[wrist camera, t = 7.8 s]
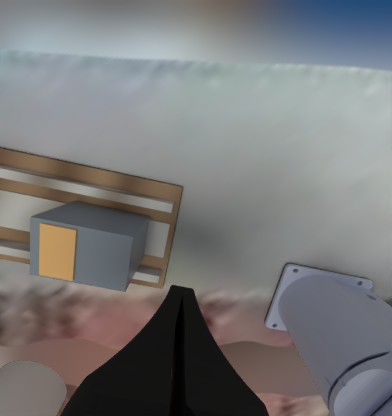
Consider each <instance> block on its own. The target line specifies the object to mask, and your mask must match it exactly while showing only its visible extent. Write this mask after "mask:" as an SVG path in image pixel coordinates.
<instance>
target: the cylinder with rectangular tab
mask: <svg viewBox="0 0 392 416" xmlns="http://www.w3.org/2000/svg"><path fill="white" fill-rule="evenodd" d="M66 393H67V389H66V386H65V382H64V381H63V379H62V378H61V376H60V375H58V374H57V373H56V372H55V371H54V370H53V369H51V368H49V367H48V366H46V365H43V364H40V363H38V362H33V361H27V360H26V361H15V362H11V363H8V364H6V365H5V366H3V367H2V368H1V369H0V416H56V415H57V413H58V411H59V409H60V408H61V406H62V404H63V402H64V400H65V398H66Z"/></svg>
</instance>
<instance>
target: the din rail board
mask: <svg viewBox="0 0 392 416" xmlns="http://www.w3.org/2000/svg"><path fill="white" fill-rule="evenodd" d="M182 189H183V186H179V185H174V184H169V183H165V182H160V181H155V180H151V179H146V178H141V177H137V176H132V175H127V174H123V173H118V172H113V171H109V170H104V169H99V168H94V167H90V166H85V165H80V164H76V163H71V162H66V161H62V160H57V159H52V158H48V157H43V156H38V155H34V154H29V153H24V152H19V151H15V150H10V149H5V148H1V147H0V259H5V260H10V261H15V262H21V263H26V264H30V217H31V216H33V215H36V214H39V213H42V212H45V211H47V210H50V209H53V208H56V207H59V206H62V205H64V204H67V203H70V202H73V201H78V202H83V203H88V204H93V205H98V206H102V207H107V208H112V209H117V210H122V211H127V212H132V213H137V214H141V215H146V216H150V218H149V224H148V230H147V237H146V243H145V249H144V255H143V259H142V261H141V263H140V265H139V267H138V269H137V270H136V272H135V274H134V276H133V278H132V280H131V282H130V283H134V284H139V285H144V286H150V287H155V288H160V289H162V288H163V284H164V279H165V274H166V269H167V264H168V259H169V254H170V249H171V244H172V239H173V234H174V229H175V224H176V219H177V214H178V209H179V204H180V199H181V194H182Z"/></svg>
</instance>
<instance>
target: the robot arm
mask: <svg viewBox="0 0 392 416" xmlns="http://www.w3.org/2000/svg"><path fill="white" fill-rule="evenodd" d="M294 269H296V270H295V271H293V270H294ZM372 287H373V282H372V281H371V280H369V279H365V278H360V277H355V276H350V275H345V274H340V273H335V272H330V271H325V270H319V269H314V268H309V267H304V266H299V265H294V264H287V265H286V266H285V269H284V271H283V274H282V277H281V279H280V282H279V285H278V288H277V290H276V293H275V296H274V298H273V301H272V304H271V307H270V309H269V312H268V315H267V317H266V320H265V325H266V327H268V328H272V329H277V330H283V331H288V333H289V335H290V337H291V339H292V341H293V343H294V344H295V346H296V348H297V350H298V352H299V354H300V356H301V358H302V360H303V362H304V364H305V365H306V367H307V369H308V371H309V373H310V375H311V377H312V378H313V381H314V383H315V385H316V386H317V388H318V390H319V392H320V394H321V396H322V398H323V400H324V402H325V404H326V406H327V407H328V409H329V414H328V416H392V307H391V306H390V305H388V304H387V303H386V302H384V301H383V300H382V299H381V298H379V297H378V296H377V295H375V294H374V293H373V292H371V289H372ZM171 373H172V376H171ZM60 416H269V414H268V411H267V409H266V406H265V404H264V403H263V402H262V401H261V400H260V399H259V398H258V397H257V395H256V394H255V393H254V392H253V391H252V390H251V389H250V388H249V387H248V386H247V385H246V384H245V382H244V381H243V380H242V379H241V377H240V376H239V375H238V374H237V373H236V371H235V370H234V369H233V367H232V366H231V365H230V363H229V362H228V360H227V359H226V358H225V356H224V355H223V353H222V351H221V350H220V348H219V347H218V345H217V343H216V342H215V340H214V338H213V336H212V335H211V333H210V331H209V329H208V327H207V325H206V322H205V320H204V318H203V316H202V313H201V311H200V308H199V306H198V303H197V300H196V296H195V293H194V290H193V289H192V288H186V287H181V286H176V285H172V286H171V287H170V290H169V292H168V294H167V296H166V298H165V300H164V301H163V303H162V304H161V306H160V307H159V309H158V310H157V312H156V313H155V314H154V316H153V317H152V318H151V319H150V321H149V322H148V323H147V324H146V325H145V327H144V328H143V329H142V330H141V331H140V332H139V333H138V334H137V335H136V336H135V337H134V338H133V339H132V340H131V341H130V342H129V343H128V344H127V345H126V346H125V347H124V348H123V349H121V350H120V351H119V352H118V353H117V354H116V355H114V356H113V357H112V358H111V359H110V360H108V361H107V362H106V363H105V364H103V365H102V366H101V367H99V368H98V369H96V370H95V371H94V372H92V373H91V374H89V375H88V376H87V377H86V378H85V379H84V380H83V382H82V383H81V384H80V386H79V387H78V388H77V390H76V391H75V393H74V394H73V396H72V397H71V399H70V400H69V402H68V403H67V405H66V406H65V408H64V410H63V412H62V414H61V415H60Z"/></svg>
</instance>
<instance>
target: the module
mask: <svg viewBox="0 0 392 416" xmlns="http://www.w3.org/2000/svg"><path fill="white" fill-rule="evenodd" d="M149 218H150V216H146V215H141V214H137V213H132V212H127V211H122V210H117V209H112V208H107V207H102V206H98V205H93V204H88V203H83V202H78V201H73V202H70V203H67V204H64V205H62V206H59V207H56V208H53V209H50V210H47V211H45V212H42V213H39V214H36V215H33V216H31V217H30V274H32V275H37V276H43V277H48V278H53V279H59V280H64V281H70V282H75V283H80V284H86V285H91V286H97V287H102V288H107V289H113V290H118V291H124V292H125V291H126V289H127V287H128V285H129V284H130V282H131V280H132V278H133V276H134V274H135V272H136V270H137V269H138V267H139V265H140V263H141V261H142V259H143V255H144V249H145V243H146V237H147V230H148V224H149Z"/></svg>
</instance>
